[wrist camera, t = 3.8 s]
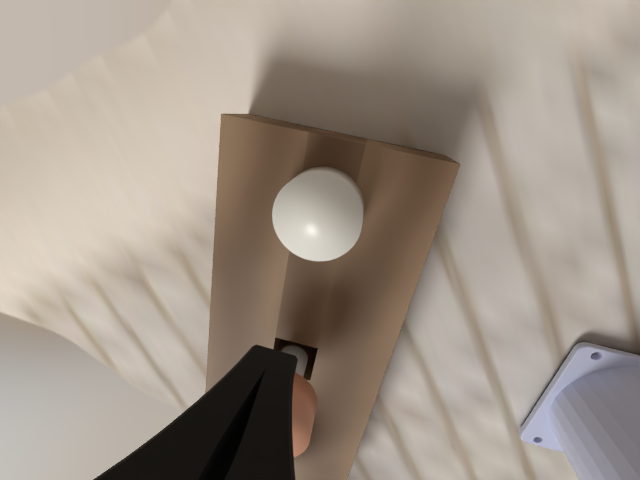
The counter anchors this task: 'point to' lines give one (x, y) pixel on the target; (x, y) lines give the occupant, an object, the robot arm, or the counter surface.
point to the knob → (319, 214)
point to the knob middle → (301, 403)
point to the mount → (320, 270)
